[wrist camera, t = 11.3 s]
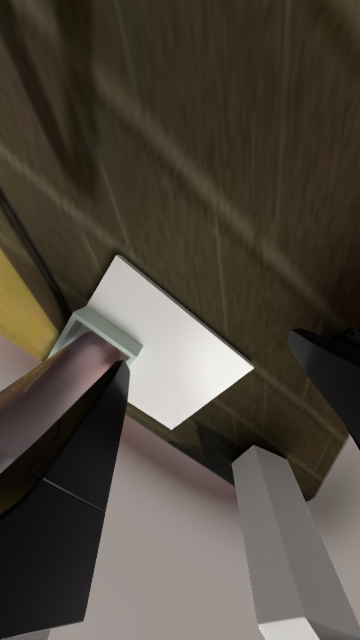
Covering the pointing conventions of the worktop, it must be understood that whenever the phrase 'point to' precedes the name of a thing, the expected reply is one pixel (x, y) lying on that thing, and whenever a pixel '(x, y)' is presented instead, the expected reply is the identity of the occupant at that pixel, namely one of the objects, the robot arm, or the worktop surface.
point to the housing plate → (157, 345)
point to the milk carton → (287, 556)
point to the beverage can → (50, 392)
